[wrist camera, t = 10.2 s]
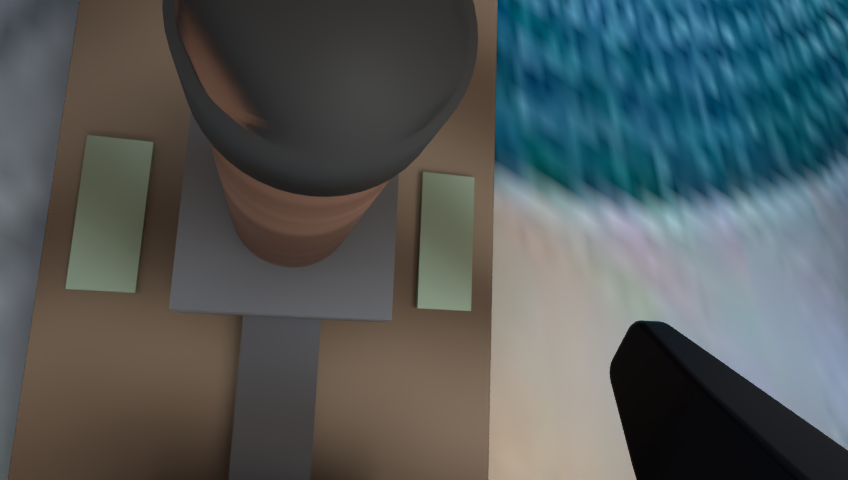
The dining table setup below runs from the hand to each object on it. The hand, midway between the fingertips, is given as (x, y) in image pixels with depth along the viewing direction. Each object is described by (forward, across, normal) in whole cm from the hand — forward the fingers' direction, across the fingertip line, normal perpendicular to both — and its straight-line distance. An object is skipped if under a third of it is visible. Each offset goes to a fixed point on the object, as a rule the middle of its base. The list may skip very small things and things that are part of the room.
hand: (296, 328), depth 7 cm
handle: (+8, 0, +4) cm, 9 cm away
